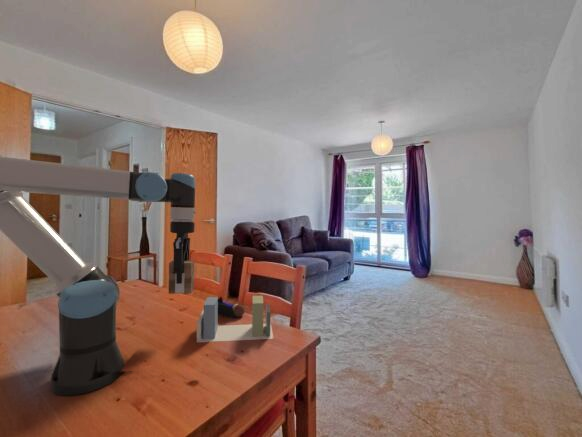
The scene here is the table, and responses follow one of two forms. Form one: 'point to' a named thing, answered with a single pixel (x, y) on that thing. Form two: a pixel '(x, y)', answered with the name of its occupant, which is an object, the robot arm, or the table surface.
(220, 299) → the character figurine
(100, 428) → the table surface
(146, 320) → the table surface
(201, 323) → the white book rack
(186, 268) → the book
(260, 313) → the book
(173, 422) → the table surface
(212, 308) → the book
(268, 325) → the bookend
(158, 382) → the table surface
